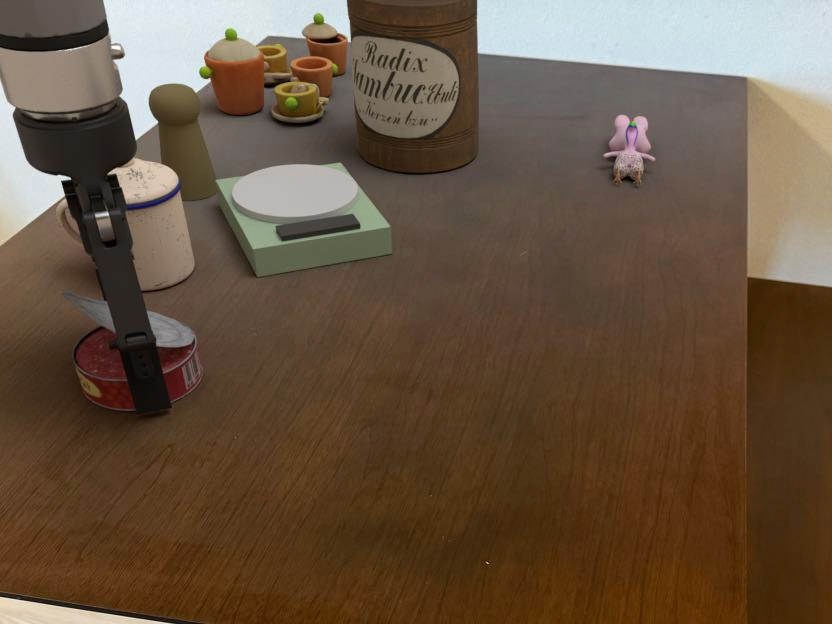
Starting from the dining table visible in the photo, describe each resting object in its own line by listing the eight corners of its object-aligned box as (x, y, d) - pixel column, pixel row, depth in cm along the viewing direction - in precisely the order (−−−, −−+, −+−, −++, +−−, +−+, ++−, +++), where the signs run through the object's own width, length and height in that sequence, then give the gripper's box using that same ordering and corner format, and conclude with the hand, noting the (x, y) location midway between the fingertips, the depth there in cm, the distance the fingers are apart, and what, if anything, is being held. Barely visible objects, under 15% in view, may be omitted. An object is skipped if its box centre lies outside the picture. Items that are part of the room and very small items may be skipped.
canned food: (111, 402, 87) (88, 288, 84) (222, 392, 87) (202, 277, 84) (56, 422, 76) (26, 291, 73) (183, 410, 76) (158, 279, 73)
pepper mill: (194, 173, 112) (175, 73, 104) (230, 187, 109) (213, 86, 102) (152, 190, 108) (128, 87, 101) (188, 205, 106) (167, 101, 98)
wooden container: (338, 163, 115) (319, -47, 100) (385, 120, 126) (374, -76, 111) (455, 182, 113) (453, -31, 98) (493, 137, 123) (497, -62, 108)
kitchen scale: (220, 206, 106) (213, 172, 103) (343, 188, 110) (340, 155, 108) (257, 277, 95) (251, 241, 92) (392, 254, 99) (390, 218, 97)
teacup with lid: (205, 249, 99) (182, 134, 91) (187, 294, 92) (161, 174, 84) (85, 248, 98) (51, 131, 90) (59, 293, 91) (19, 171, 83)
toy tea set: (318, 132, 122) (310, 50, 116) (199, 122, 123) (184, 40, 116) (364, 65, 141) (359, -8, 135) (260, 57, 142) (250, -16, 135)
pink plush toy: (652, 198, 115) (654, 131, 124) (659, 152, 110) (660, 85, 119) (599, 194, 115) (605, 127, 124) (604, 148, 110) (610, 82, 119)
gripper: (154, 158, 60) (216, 439, 75) (102, 45, 75) (162, 297, 90) (24, 175, 58) (115, 462, 73) (-2, 54, 73) (78, 311, 88)
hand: (141, 370), depth 81 cm, fingers open, 11 cm apart
